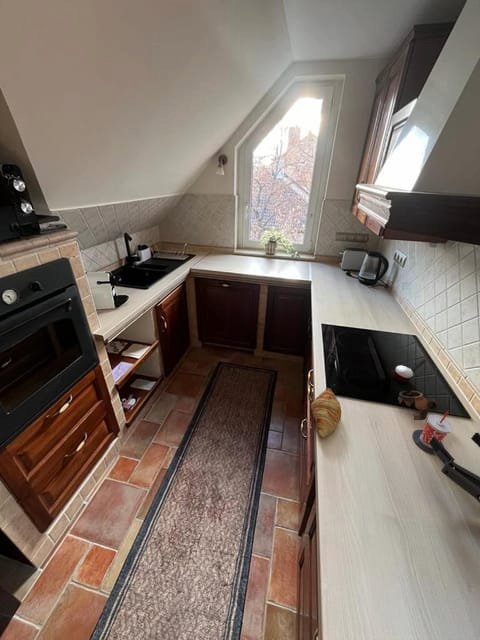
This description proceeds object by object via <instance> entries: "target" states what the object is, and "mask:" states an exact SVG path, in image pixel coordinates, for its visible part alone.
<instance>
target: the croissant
mask: <svg viewBox="0 0 480 640" xmlns="http://www.w3.org/2000/svg"><path fill="white" fill-rule="evenodd" d="M310 409H311V411H312V412H311V413H312V416H313V418H314V420H315V426H316V427H317V429H318V430H317V431H318V434H319V437H321V438H322V439H323V438H327V437H328V436H329V435H330V434H332V433H333V431H335V430H336V428H337V425H338V424H339V423H340V422H341V419H342V406H341V403H340V401H339V400H338V398H337V396H335V393H334V392H333V391H332V388H329V387H327V388H326V389H325V391H324V390H323V392H321V393H320V394H319V395H318V396H317V397H315V399H314V400H313V401H312V402H311V403H310Z"/></svg>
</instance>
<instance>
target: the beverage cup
mask: <svg viewBox="0 0 480 640" xmlns="http://www.w3.org/2000/svg"><path fill="white" fill-rule="evenodd" d="M448 414H449V411H448V410H447V411H445V413H444V414H443V416H441V415H438V414H430V415H428V416H427V421H426V423H425V426H424V427H423V429H422V430H423V432H422V434H421V436H420V440H421V442H422V443H423V444H424V445H426V446H427V447H430V448H432V446H431V445H430V444H429V442H430V441H431V439H432V438H433V437H436V439H437V440H438V441H439V442H442V441H443V440H444V438H445V437H446V436H447V435H448V434H450V433H451V432H452V431H453V425H452V424H451V422H450V421H449V420H448V419H446V417H448Z"/></svg>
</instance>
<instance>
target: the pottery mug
mask: <svg viewBox="0 0 480 640" xmlns="http://www.w3.org/2000/svg"><path fill="white" fill-rule="evenodd" d="M397 400H398V404H399V405H401V404H402V403H403V402H404V404H405V405H406V406H407V407H409V408H410V407H411V405H412V404H413V403H414V407H415V408H416V409H417V410H418V411H419V413H417V414H416V413H415V414H414V413H413V414H412V417H413V421H417V422H418V421H425V420H426V419H427V418H428V414H429V413H430V412H433V411H435V410H437V408H438V407H439V403H438V401H437V400H436V399H434V398H426V397H425V396H424V394H423V392H420V391H415V390H410V392H409V391H408V390H402V391H399V394H398V397H397ZM430 404H431V405H430Z"/></svg>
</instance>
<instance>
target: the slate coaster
mask: <svg viewBox="0 0 480 640" xmlns="http://www.w3.org/2000/svg"><path fill="white" fill-rule="evenodd" d="M422 432H423V429H415V430H414V431H413V432H412V440H413V442H414V443H415V445H416V446H417V447H418V448H419V449H421V450H422V451H424V452H425V453H427V454H430V455H433V456H437V455H436V453H437V452H436V451H435V450H434V449H433V448H430V447H427V446H426V445H424V444H423V443H422V442H421V440H420V436H421V434H422ZM440 443H441V444H442V445H443V447H444V448H445V445H444V443H443V442H442V441H441V442H440Z"/></svg>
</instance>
